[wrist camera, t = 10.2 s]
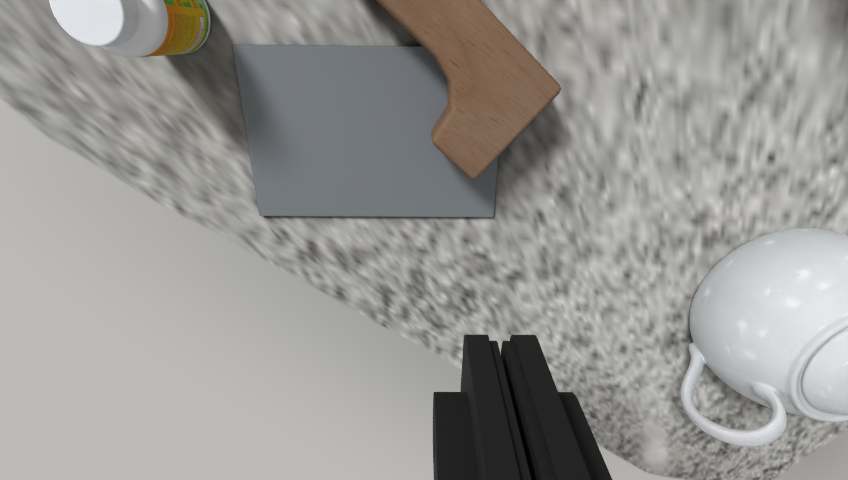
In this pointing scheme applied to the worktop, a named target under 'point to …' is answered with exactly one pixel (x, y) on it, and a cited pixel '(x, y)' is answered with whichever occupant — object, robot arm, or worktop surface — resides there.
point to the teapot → (774, 330)
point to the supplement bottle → (136, 25)
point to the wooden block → (476, 78)
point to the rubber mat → (352, 133)
